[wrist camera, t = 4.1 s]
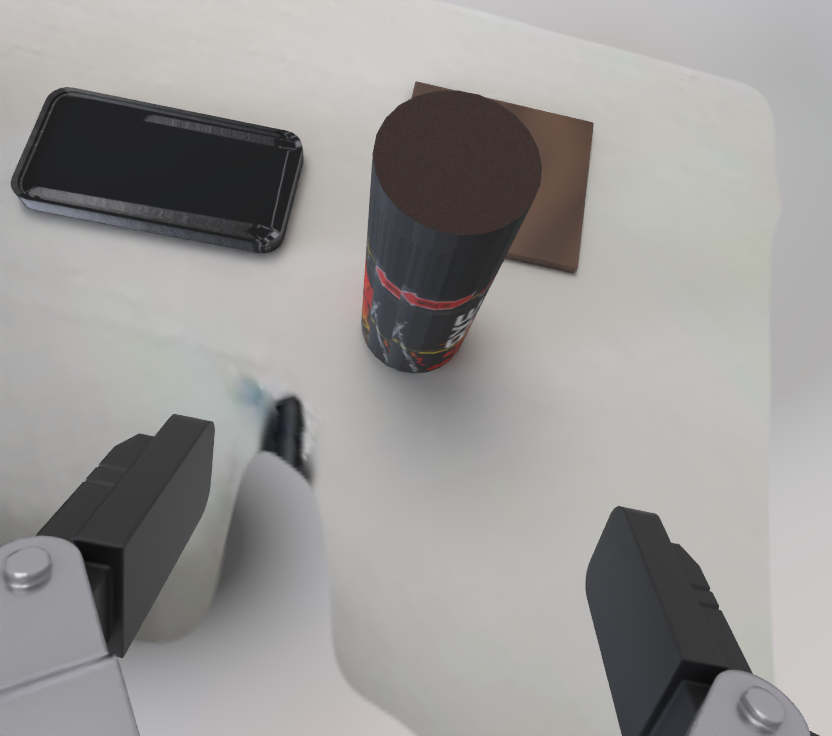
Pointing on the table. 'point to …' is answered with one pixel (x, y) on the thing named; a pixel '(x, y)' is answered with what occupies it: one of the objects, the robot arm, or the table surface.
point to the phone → (160, 170)
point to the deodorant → (441, 221)
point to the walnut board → (550, 186)
